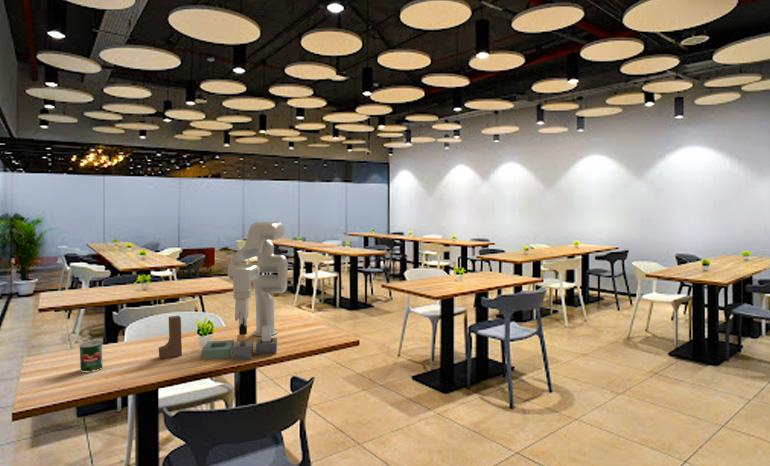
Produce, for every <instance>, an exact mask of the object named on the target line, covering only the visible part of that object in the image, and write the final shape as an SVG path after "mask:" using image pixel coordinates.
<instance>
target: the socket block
mask: <svg viewBox="0 0 770 466" xmlns="http://www.w3.org/2000/svg"><path fill="white" fill-rule="evenodd" d="M277 350H278V338H277V337H271V343H262V338H257V340H256V343H255V355H256V356H263V355H277V352H278V351H277Z"/></svg>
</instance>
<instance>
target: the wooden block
mask: <svg viewBox="0 0 770 466" xmlns="http://www.w3.org/2000/svg"><path fill="white" fill-rule="evenodd" d="M182 344H183V343H182V317H181V316H180V315H171V316H168V341H167V342H166V344H165V345H162V346H159V347H158V357H159V358H160V359H161V360H164V358H165V359H169V357H170V358H174V357H175V356H176V357H182V355H183V349H182V348H183V347H182Z"/></svg>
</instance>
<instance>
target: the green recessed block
mask: <svg viewBox="0 0 770 466" xmlns="http://www.w3.org/2000/svg"><path fill="white" fill-rule="evenodd" d="M234 343H235V340H234V339H228V340H227V339H225V340H207V342H206V343H205V345H204V346H203V347H202V349H201V360H211V359H213V360H214V359H228V358H231V356H232V355H233V345H234Z"/></svg>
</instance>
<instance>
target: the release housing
mask: <svg viewBox="0 0 770 466" xmlns="http://www.w3.org/2000/svg"><path fill="white" fill-rule="evenodd" d="M253 356H254V341H253V340H247V341H246V345H241V344H240V341H234V345H233V352H232V360H233V361H244V360H247V361H248V360H252V359H253Z"/></svg>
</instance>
